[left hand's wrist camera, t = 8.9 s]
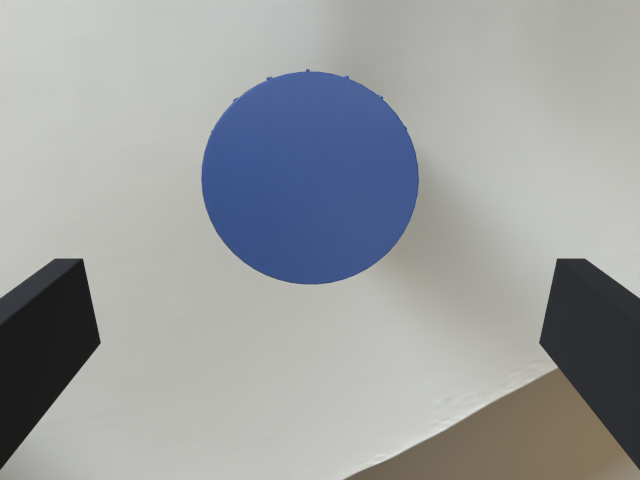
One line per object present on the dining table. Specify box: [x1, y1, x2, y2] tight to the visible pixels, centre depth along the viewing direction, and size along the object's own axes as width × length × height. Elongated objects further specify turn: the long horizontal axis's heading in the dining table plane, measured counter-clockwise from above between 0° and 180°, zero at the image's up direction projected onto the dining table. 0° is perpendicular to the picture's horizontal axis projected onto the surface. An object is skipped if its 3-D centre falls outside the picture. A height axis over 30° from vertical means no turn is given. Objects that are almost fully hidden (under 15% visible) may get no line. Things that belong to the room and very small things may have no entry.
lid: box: [201, 69, 418, 284], centre depth 19 cm, size 9×9×2 cm
